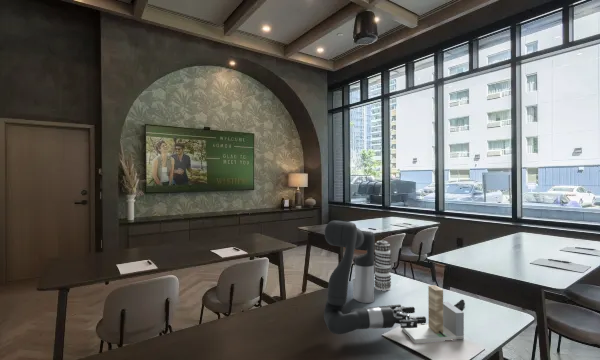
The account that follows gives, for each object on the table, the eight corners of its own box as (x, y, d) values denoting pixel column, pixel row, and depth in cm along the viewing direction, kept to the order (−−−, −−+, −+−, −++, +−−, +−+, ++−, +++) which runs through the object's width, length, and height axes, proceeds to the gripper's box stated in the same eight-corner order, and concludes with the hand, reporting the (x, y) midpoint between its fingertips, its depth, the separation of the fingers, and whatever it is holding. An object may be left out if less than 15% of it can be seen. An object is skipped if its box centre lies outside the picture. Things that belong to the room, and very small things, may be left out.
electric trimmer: (467, 307, 146) (467, 300, 146) (456, 318, 135) (456, 310, 135) (458, 304, 149) (458, 298, 149) (447, 315, 138) (447, 308, 138)
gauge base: (414, 343, 115) (414, 315, 114) (402, 330, 124) (402, 304, 124) (463, 339, 117) (463, 312, 117) (447, 326, 127) (447, 301, 127)
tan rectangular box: (440, 338, 115) (440, 293, 114) (428, 326, 123) (428, 285, 123) (448, 337, 115) (448, 293, 115) (435, 326, 124) (435, 285, 123)
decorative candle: (374, 290, 167) (374, 243, 166) (373, 284, 176) (373, 239, 175) (392, 291, 165) (392, 243, 165) (390, 285, 174) (390, 239, 174)
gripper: (386, 315, 111) (429, 312, 113) (371, 299, 125) (410, 297, 127) (386, 337, 111) (429, 333, 113) (371, 318, 125) (410, 316, 127)
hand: (419, 314), depth 120 cm, fingers open, 8 cm apart
